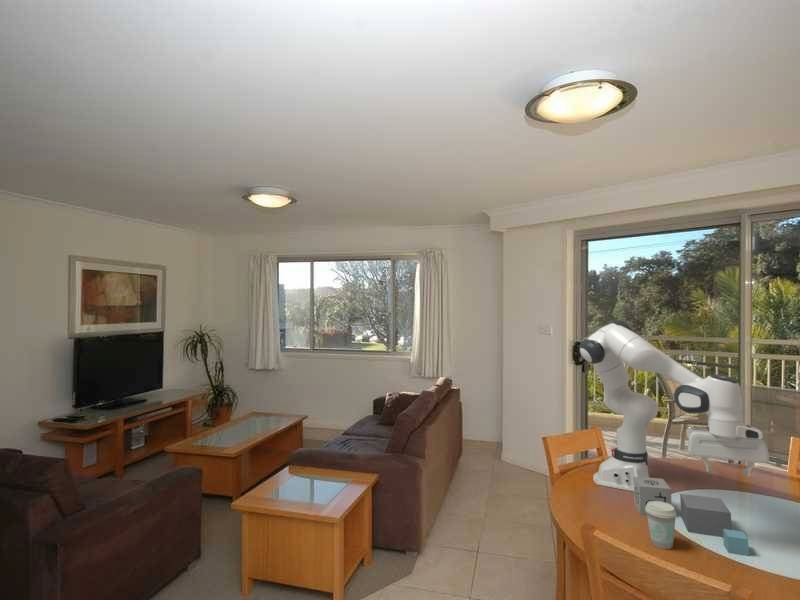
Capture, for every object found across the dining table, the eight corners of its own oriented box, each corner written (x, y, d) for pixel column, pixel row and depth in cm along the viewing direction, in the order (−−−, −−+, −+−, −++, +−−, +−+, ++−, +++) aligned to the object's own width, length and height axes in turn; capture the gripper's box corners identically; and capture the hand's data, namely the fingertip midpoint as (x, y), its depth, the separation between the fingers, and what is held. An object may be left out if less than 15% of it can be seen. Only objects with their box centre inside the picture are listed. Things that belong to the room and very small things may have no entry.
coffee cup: (640, 538, 143) (639, 500, 143) (665, 537, 143) (664, 499, 144) (658, 552, 134) (656, 512, 135) (684, 550, 135) (683, 510, 135)
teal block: (728, 553, 133) (727, 536, 133) (723, 545, 138) (723, 528, 138) (748, 556, 131) (748, 539, 131) (743, 548, 136) (742, 531, 136)
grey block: (688, 532, 146) (686, 507, 146) (681, 516, 157) (680, 493, 158) (732, 538, 142) (730, 512, 142) (721, 522, 153) (720, 498, 153)
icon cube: (672, 517, 157) (670, 488, 157) (640, 514, 159) (639, 486, 160) (664, 505, 166) (662, 478, 167) (634, 503, 169) (633, 476, 169)
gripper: (687, 427, 139) (688, 472, 139) (769, 434, 130) (772, 482, 130) (684, 423, 145) (686, 465, 144) (763, 429, 136) (765, 474, 135)
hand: (727, 473), depth 137 cm, fingers open, 8 cm apart
